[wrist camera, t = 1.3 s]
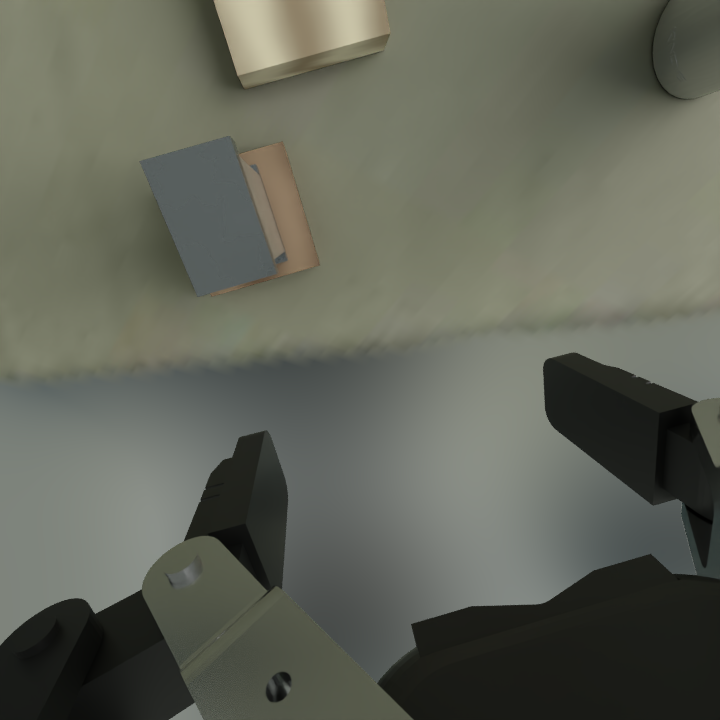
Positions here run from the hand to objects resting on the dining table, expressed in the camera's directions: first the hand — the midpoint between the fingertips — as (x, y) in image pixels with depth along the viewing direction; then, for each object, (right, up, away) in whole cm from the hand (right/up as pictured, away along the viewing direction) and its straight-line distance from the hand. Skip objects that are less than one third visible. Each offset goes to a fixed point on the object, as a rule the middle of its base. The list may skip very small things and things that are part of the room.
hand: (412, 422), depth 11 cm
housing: (-11, +13, +21) cm, 27 cm away
